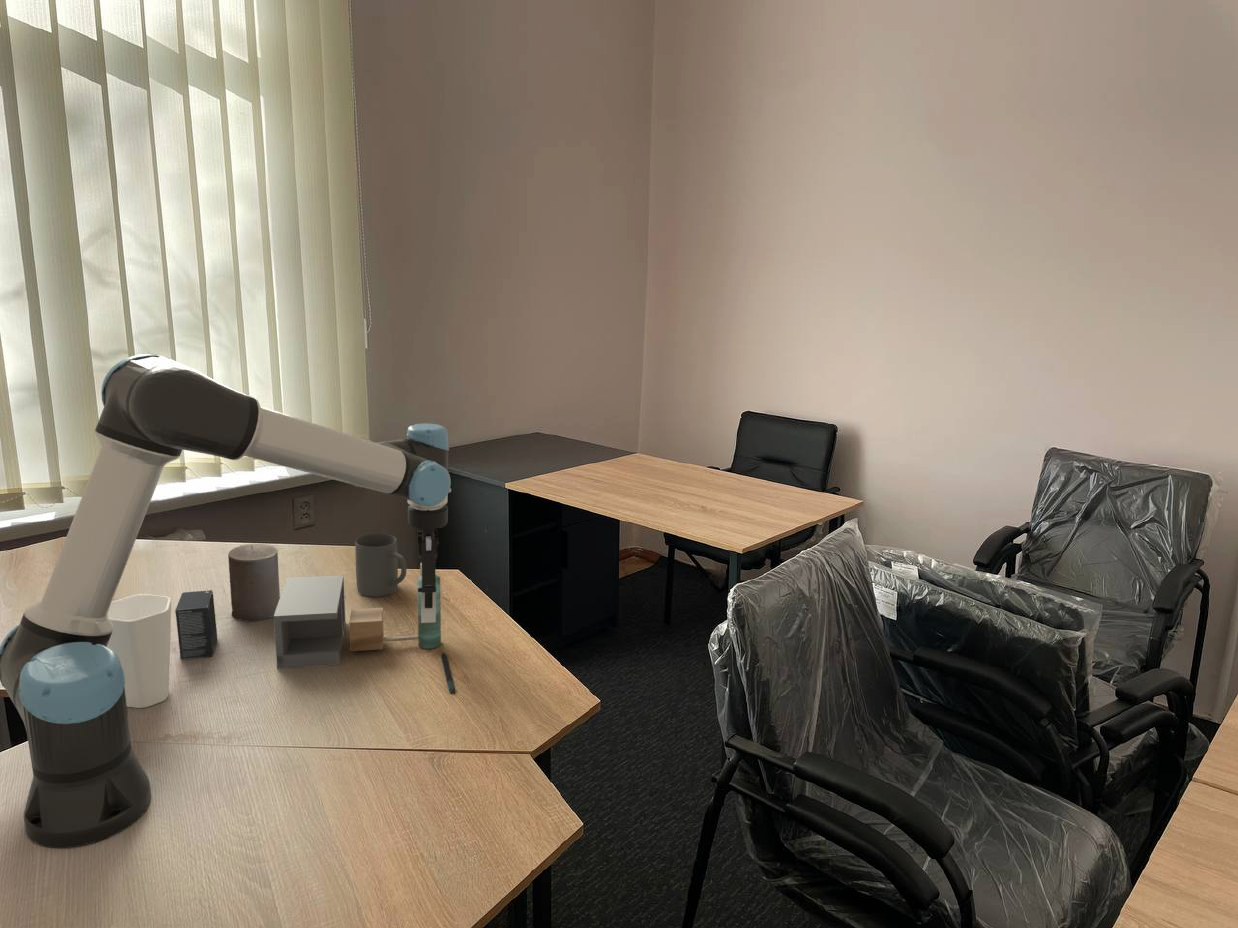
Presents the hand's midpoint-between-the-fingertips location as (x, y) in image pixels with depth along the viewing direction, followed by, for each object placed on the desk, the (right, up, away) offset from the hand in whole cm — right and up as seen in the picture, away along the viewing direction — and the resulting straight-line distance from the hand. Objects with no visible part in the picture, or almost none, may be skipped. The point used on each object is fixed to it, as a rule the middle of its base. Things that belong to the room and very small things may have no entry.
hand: (427, 607), depth 171 cm
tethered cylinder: (-6, -8, +1) cm, 10 cm away
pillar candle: (-39, -3, +13) cm, 41 cm away
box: (-43, -8, -4) cm, 44 cm away
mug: (-16, -1, +26) cm, 30 cm away
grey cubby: (-23, -7, 0) cm, 24 cm away
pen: (+5, -12, -8) cm, 15 cm away
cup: (-44, -12, -21) cm, 50 cm away
